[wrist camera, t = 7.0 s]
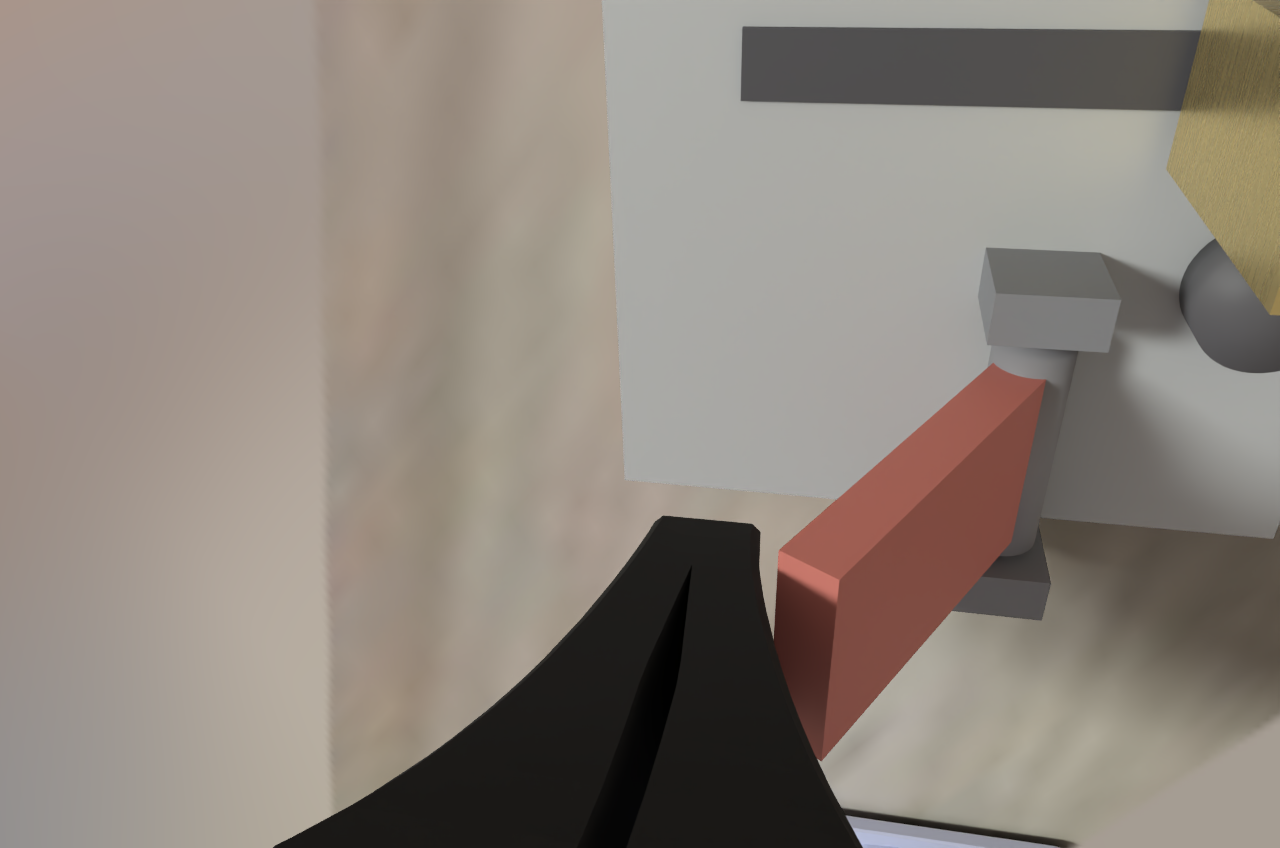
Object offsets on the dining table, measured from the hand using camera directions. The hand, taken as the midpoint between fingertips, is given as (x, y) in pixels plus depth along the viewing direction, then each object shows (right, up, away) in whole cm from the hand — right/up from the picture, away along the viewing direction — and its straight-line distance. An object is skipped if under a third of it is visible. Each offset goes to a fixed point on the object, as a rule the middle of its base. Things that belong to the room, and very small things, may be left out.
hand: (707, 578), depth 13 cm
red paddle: (+5, +2, +2) cm, 6 cm away
